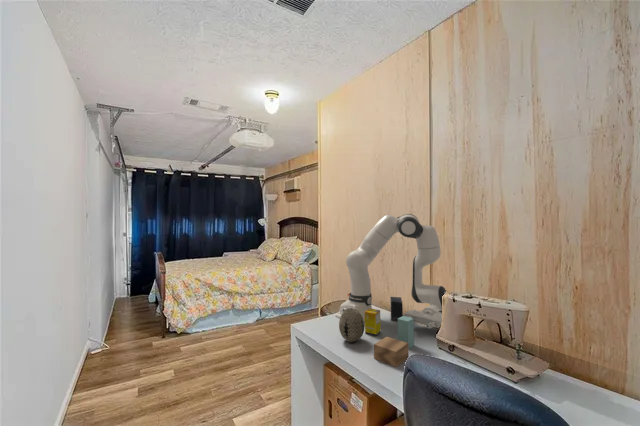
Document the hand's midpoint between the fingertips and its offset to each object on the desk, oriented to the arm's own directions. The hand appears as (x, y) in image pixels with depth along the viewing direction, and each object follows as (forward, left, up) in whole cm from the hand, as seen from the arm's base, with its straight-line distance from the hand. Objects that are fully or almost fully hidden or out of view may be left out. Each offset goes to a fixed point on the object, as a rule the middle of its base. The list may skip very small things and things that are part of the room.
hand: (418, 323), depth 137 cm
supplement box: (-19, -10, -7) cm, 22 cm away
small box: (-21, +16, -7) cm, 27 cm away
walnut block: (+1, -26, -7) cm, 27 cm away
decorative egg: (-21, -24, -7) cm, 32 cm away
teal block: (0, -12, -7) cm, 13 cm away
